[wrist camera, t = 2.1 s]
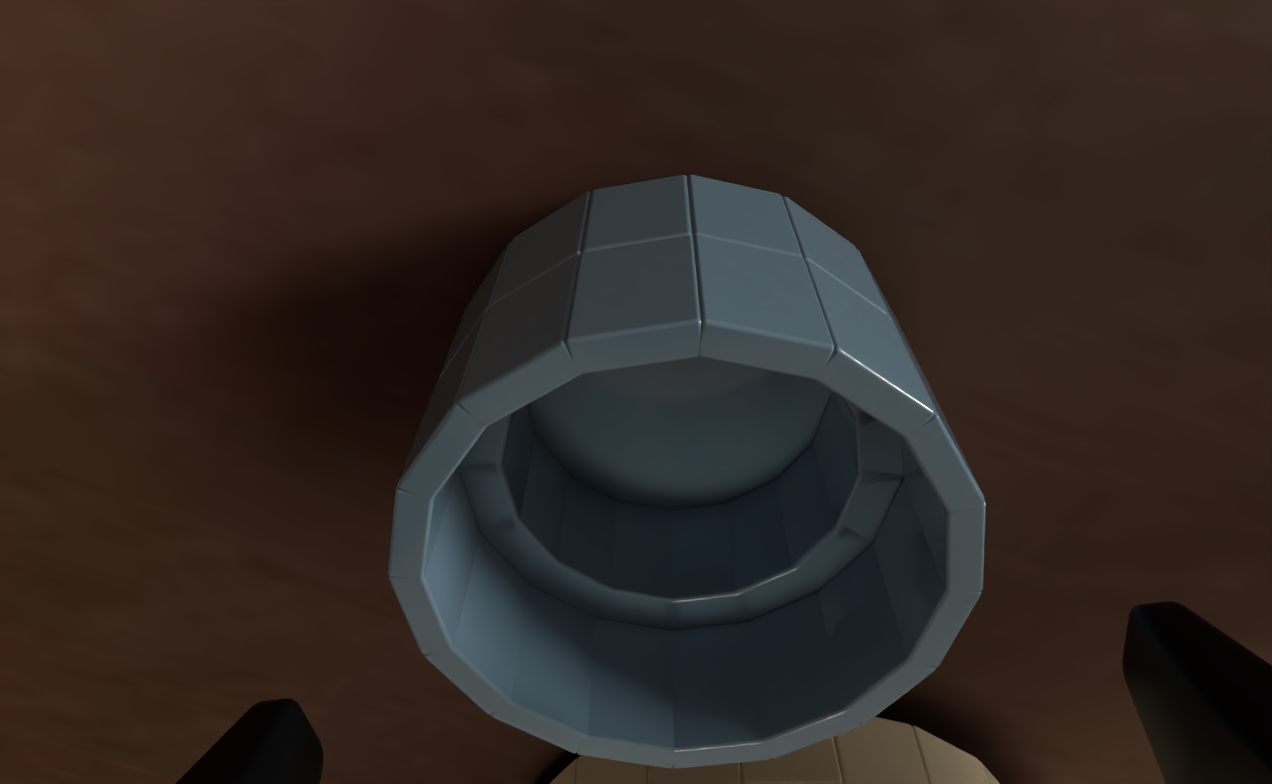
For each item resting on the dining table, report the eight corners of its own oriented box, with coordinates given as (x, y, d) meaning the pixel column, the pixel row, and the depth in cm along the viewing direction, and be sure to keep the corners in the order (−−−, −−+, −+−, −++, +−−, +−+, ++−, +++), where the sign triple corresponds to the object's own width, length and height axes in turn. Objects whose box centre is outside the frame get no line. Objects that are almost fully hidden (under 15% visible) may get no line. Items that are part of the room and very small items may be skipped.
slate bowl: (620, 67, 12) (603, 190, 8) (982, 327, 15) (1117, 533, 10) (390, 414, 16) (293, 632, 11) (715, 587, 18) (734, 825, 13)
